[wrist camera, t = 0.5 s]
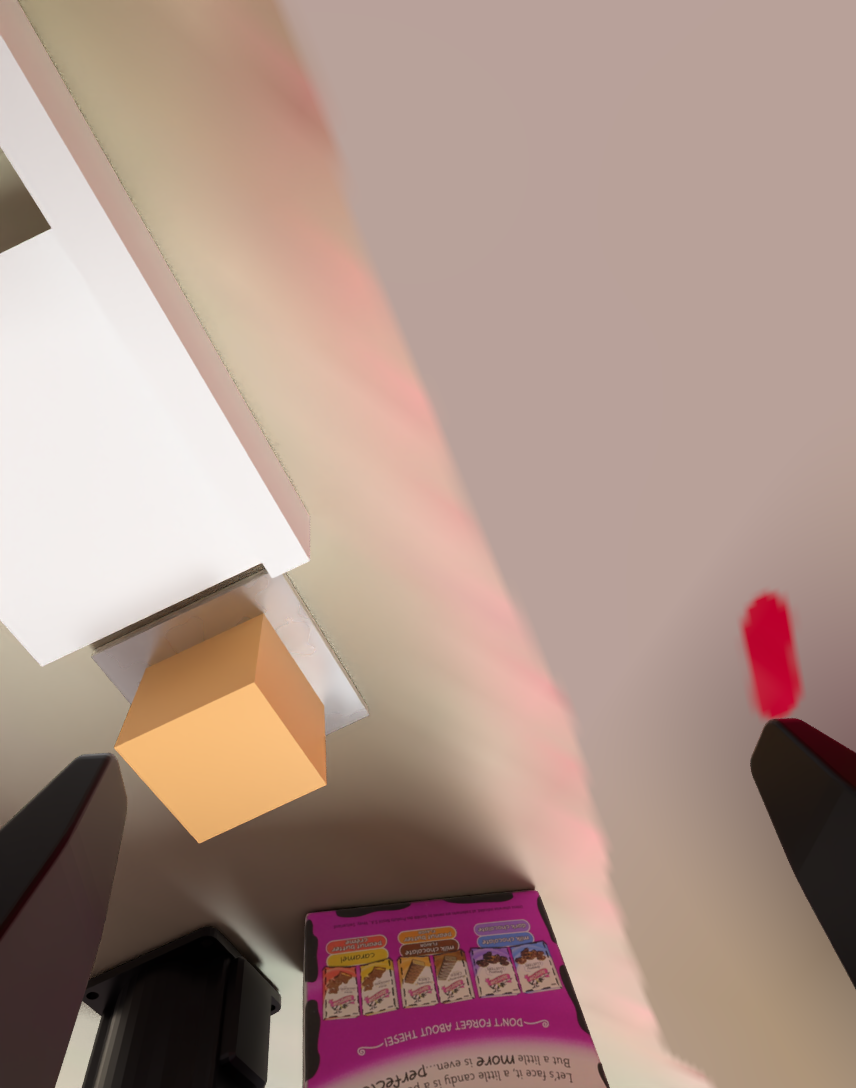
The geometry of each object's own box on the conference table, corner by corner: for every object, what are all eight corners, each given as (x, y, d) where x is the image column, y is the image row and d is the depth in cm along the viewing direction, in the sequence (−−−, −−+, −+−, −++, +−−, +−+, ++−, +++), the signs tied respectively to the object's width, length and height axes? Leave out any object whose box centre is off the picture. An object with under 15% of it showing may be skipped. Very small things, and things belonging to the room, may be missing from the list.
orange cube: (215, 756, 24) (198, 843, 21) (146, 668, 22) (114, 747, 19) (324, 706, 24) (326, 785, 20) (263, 613, 22) (254, 681, 18)
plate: (205, 782, 25) (203, 791, 25) (95, 648, 22) (91, 656, 22) (368, 707, 25) (369, 715, 25) (278, 562, 22) (278, 568, 22)
